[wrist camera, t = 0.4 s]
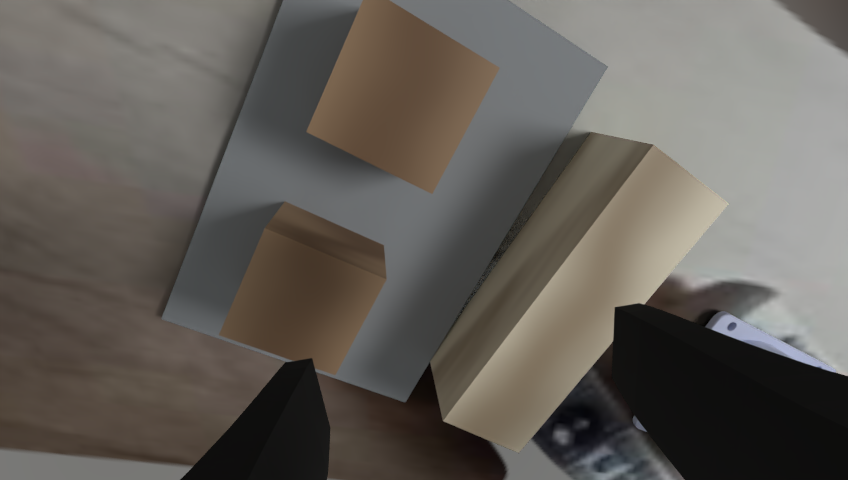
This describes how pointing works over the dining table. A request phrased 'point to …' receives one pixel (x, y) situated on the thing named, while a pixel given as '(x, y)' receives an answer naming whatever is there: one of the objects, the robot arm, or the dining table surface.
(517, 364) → the plank
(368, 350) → the mat
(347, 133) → the block
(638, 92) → the dining table surface
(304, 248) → the block
